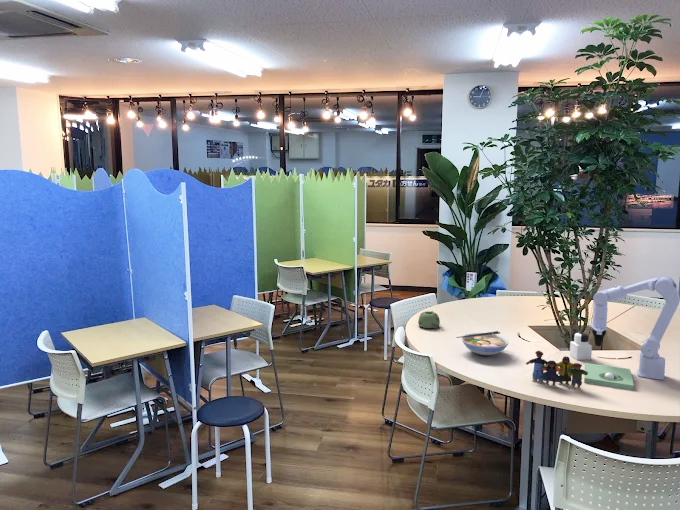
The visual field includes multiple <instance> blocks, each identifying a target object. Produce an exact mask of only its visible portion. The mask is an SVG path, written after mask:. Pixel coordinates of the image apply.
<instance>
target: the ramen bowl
mask: <svg viewBox="0 0 680 510" xmlns="http://www.w3.org/2000/svg"><path fill="white" fill-rule="evenodd" d="M500 334H501V332H500V331H497V330H495V331H488V332H471V333H467V334H466V333H465V334H464V335H462V336H456V338H457V339H458V338H459V339H460V338H461V340H462V343H463V345H464V346H465V347H466V349H468V350H469V351H471V352H472V353H475V354H477V355H479V354H480V355H479V356H482V355H490V356H492V355H498V354H499V353H501V352H502V351H504V350H505V349H506V348H507V347H508V345H509V339H507V338H506V337H504V336H501V335H500Z"/></svg>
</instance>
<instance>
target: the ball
mask: <svg viewBox="0 0 680 510" xmlns="http://www.w3.org/2000/svg"><path fill="white" fill-rule="evenodd" d="M605 377H606V378H608V379H614V375H613V374H612V373H606V374H605Z"/></svg>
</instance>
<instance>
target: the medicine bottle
mask: <svg viewBox="0 0 680 510" xmlns="http://www.w3.org/2000/svg"><path fill="white" fill-rule="evenodd" d="M573 339H574V340H573V341H572V340H571V341H569V342H570V343H569V344H570V345H569V356H570V357H572V358H574V359H575V360H576V361H584V360H585V361H590V360H592V352H593V345H592V344H590V343H589V335H588V334H587V333H585V332H576V333H574V338H573Z"/></svg>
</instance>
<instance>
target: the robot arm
mask: <svg viewBox="0 0 680 510" xmlns="http://www.w3.org/2000/svg"><path fill="white" fill-rule="evenodd" d="M677 286H678V284H676V282H675V281H674V279H673V278H672V277H670V276H667V275H665V276H663V275H662V276H660V277H654V278H653V277H652V278H649V279H646V280H642V281H640V282H637V283H633V284H630V285H627V286H622V285H618V284H615V285H613V287H610V288H607V289H606V288H604V289H602V290H599V291H597V292H596V293H595V294H594V295H593V297H592V301H593V308H592V309H593V311H592V324H589V325H588V326H589V328H591V333H592V335H593V338H594V345H595V347H601V345H602V343H603V339H604V338H605V336H606V334H607V333H606V332H607V328H608V327H607V320H608V302H611V303H612V302H615V301H619V300H622V299H625V298H627V296H628V294H629V295H630V294H633V293H637V292H641V291H645V290H646V291H651V292H654V291H656V292H657V293H658V294H659V295H660V296H661V297H662V298H663V300H664V301H665V302H664V305H663V307H662V308H661V311H660V313H659V316H658V317H657V320H656V322H655V323H654V325H653V328H652V330H651V331H650V334H649V336H648V338H646V339H645V340H643V343H642V345H641V347H640V353H639V361H638V362H639V365H638V369H636V372H637V376H638V377H641V378H647V379H655V380H660V381H661V380H662V381H663V380H665V373H666V369H665V368H666V359H665V358H666V357H663V356H660V354H659V350H660V348H661V344H660V343H661V341H662V339H663V336H664V334H665V333H666V331H667V329H668V327H669V325H670V323H671V321H672V319H673V317H674V315H675V312H676V311H677V308H678V306H679V305H680V294H679V291H678V287H677Z"/></svg>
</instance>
